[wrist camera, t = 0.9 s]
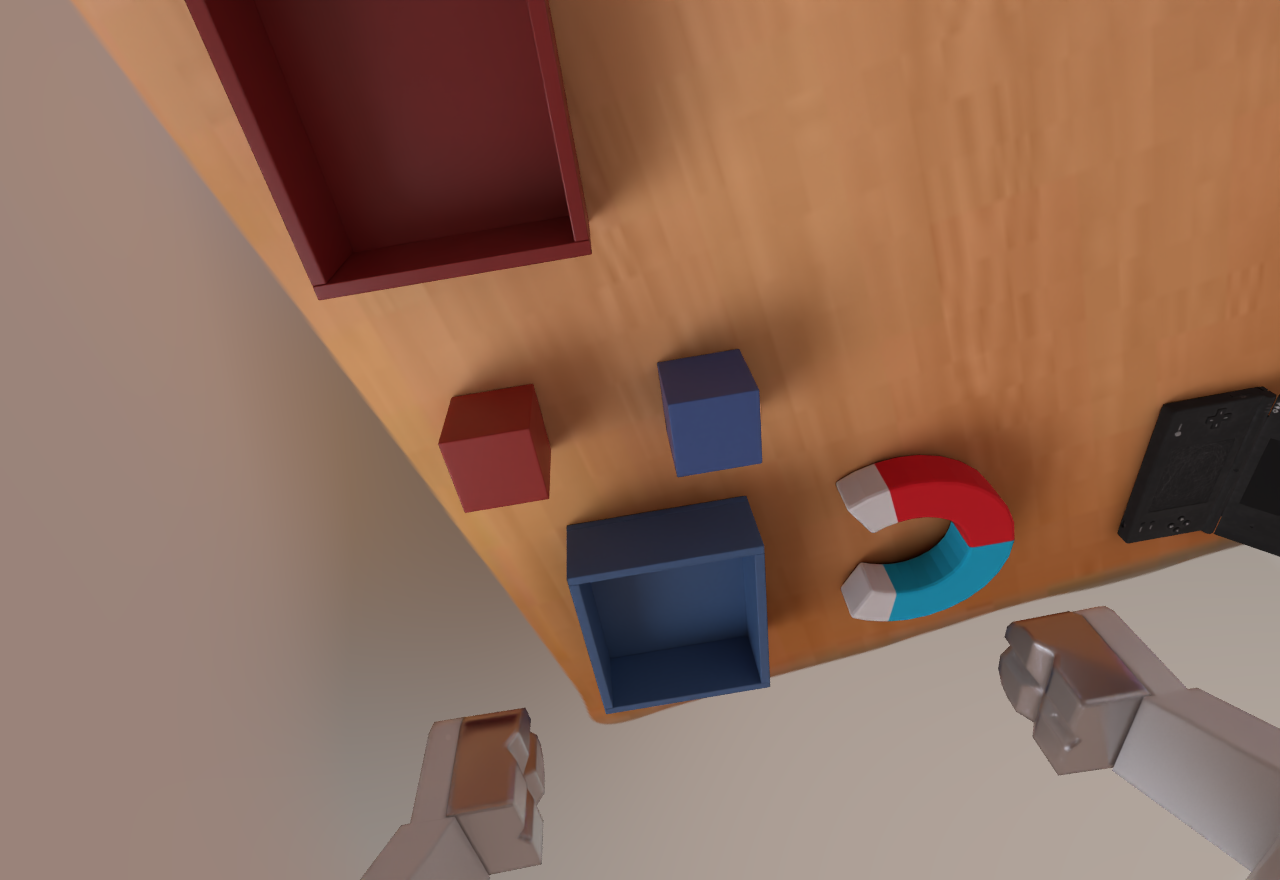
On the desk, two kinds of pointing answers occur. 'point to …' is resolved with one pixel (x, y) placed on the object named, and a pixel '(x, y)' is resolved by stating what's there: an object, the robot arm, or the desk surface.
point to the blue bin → (672, 603)
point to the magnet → (947, 567)
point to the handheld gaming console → (1211, 471)
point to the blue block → (711, 412)
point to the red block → (497, 448)
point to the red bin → (404, 133)
